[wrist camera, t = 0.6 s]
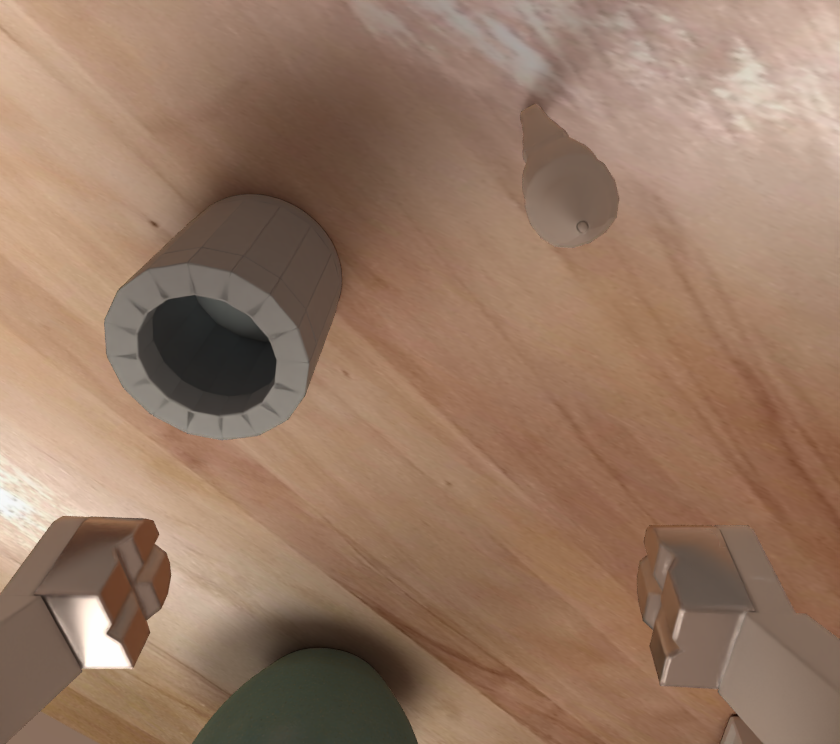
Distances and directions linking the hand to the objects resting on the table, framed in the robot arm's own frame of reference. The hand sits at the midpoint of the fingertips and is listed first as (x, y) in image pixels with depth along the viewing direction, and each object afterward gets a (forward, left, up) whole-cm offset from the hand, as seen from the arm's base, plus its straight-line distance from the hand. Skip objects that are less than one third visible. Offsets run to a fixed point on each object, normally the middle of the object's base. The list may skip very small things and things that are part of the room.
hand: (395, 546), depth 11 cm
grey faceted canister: (+3, -10, -22) cm, 24 cm away
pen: (-2, +4, -22) cm, 23 cm away
